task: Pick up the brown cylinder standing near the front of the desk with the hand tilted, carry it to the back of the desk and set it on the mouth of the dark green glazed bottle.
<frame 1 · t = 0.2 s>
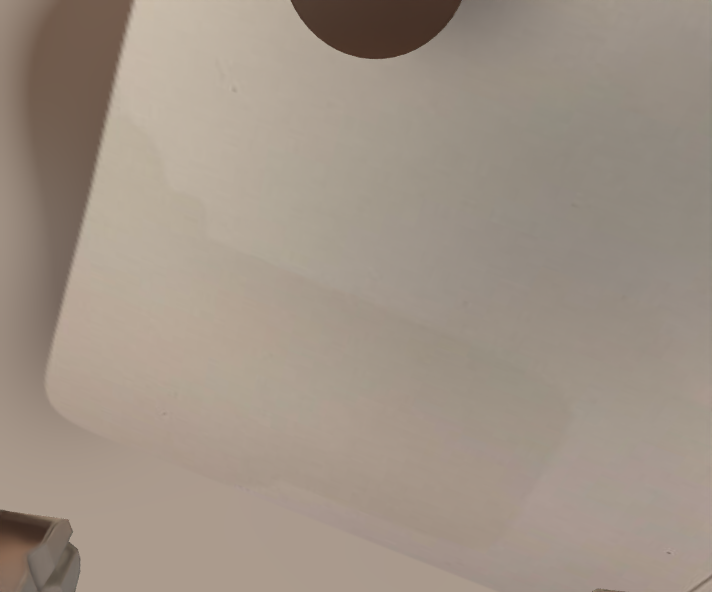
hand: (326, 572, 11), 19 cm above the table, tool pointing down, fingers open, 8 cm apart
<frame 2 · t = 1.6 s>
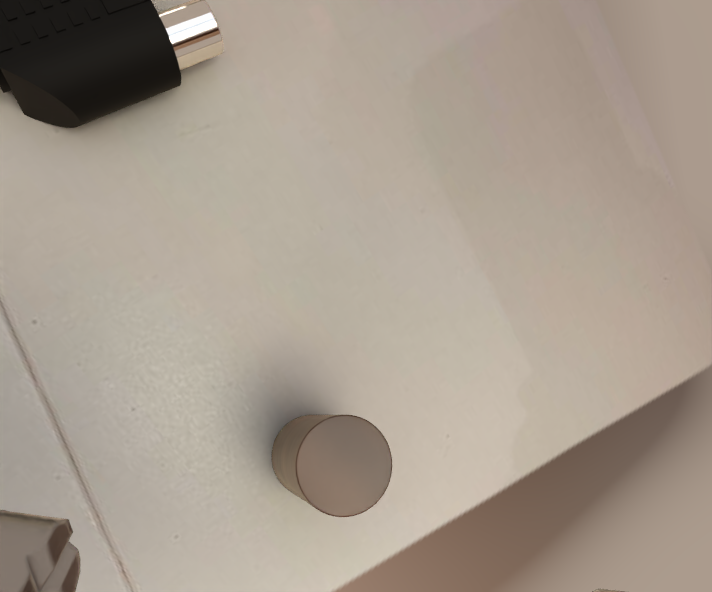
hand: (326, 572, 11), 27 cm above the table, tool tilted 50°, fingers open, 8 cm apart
brown cylinder: (311, 455, 38), on the table
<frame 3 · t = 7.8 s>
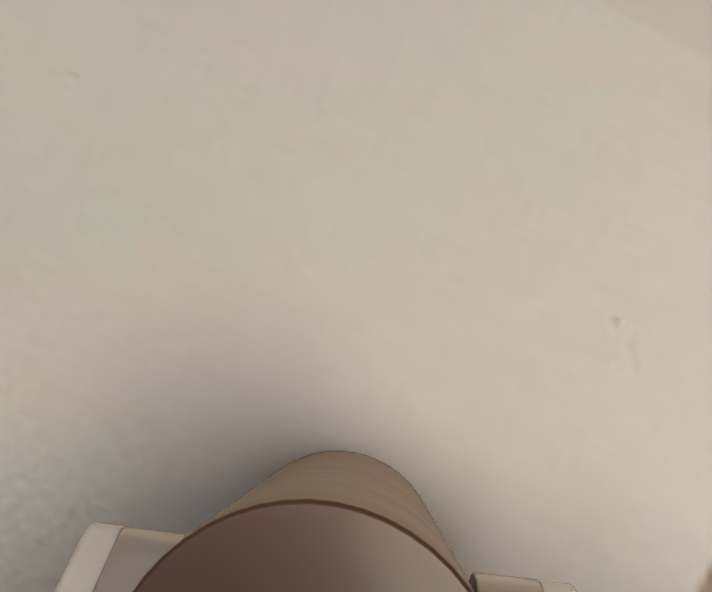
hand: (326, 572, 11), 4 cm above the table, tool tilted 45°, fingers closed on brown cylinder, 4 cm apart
brown cylinder: (337, 554, 15), on the table, touching gripper
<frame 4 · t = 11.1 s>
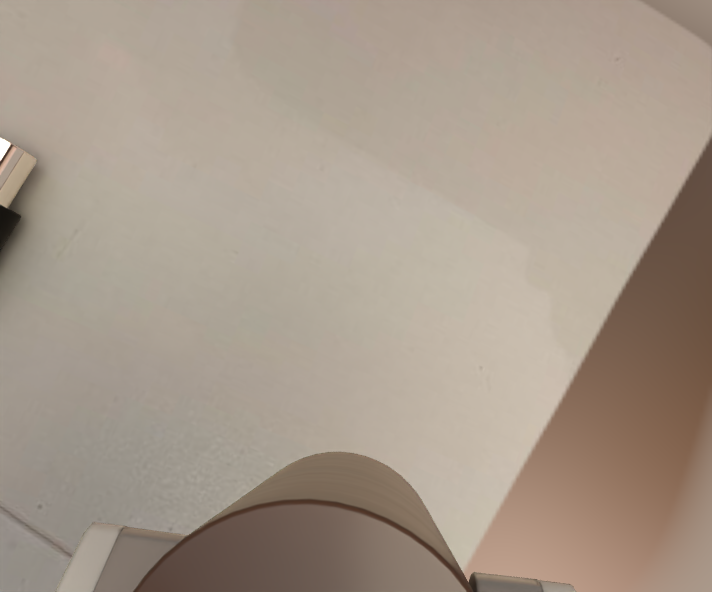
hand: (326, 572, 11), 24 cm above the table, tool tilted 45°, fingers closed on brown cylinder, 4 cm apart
brown cylinder: (336, 554, 15), point 20 cm above the table, touching gripper
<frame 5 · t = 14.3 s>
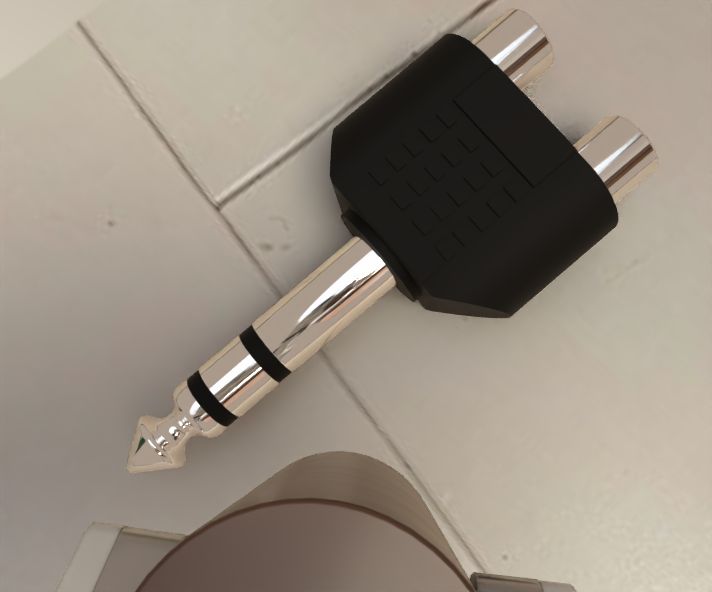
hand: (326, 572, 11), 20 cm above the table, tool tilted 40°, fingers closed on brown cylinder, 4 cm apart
brown cylinder: (338, 554, 15), point 16 cm above the table, touching gripper
audio adapter: (359, 285, 32), on the table
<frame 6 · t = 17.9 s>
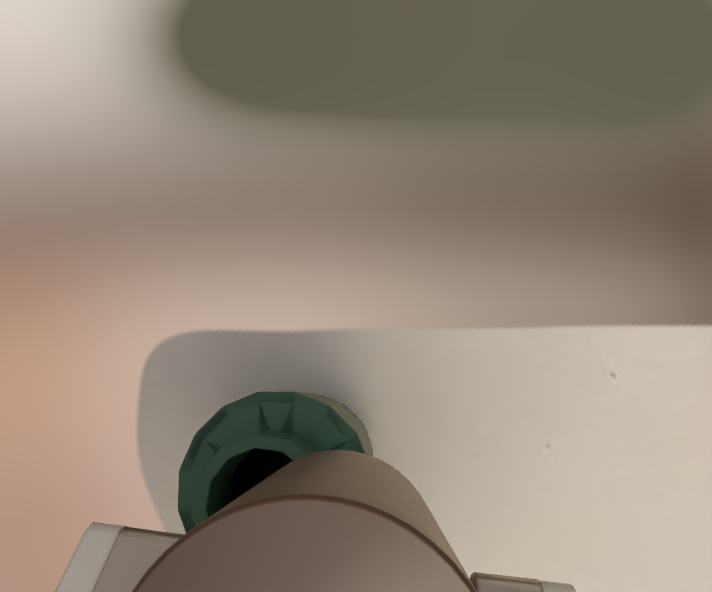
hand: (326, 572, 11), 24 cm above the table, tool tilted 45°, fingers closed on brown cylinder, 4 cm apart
bottle: (308, 459, 34), on the table
brown cylinder: (337, 552, 15), point 19 cm above the table, touching gripper
when the fingers open (19 cm above the table, at t = 20.7 s): brown cylinder stays where it is, resting on bottle.
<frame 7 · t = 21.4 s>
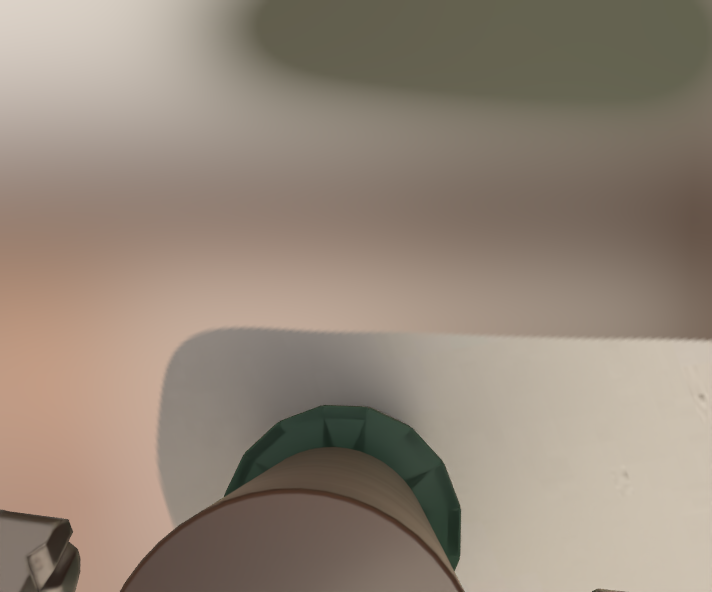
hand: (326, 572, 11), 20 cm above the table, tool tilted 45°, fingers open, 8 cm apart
bottle: (352, 479, 30), on the table
brown cylinder: (331, 547, 15), point 15 cm above the table, touching bottle
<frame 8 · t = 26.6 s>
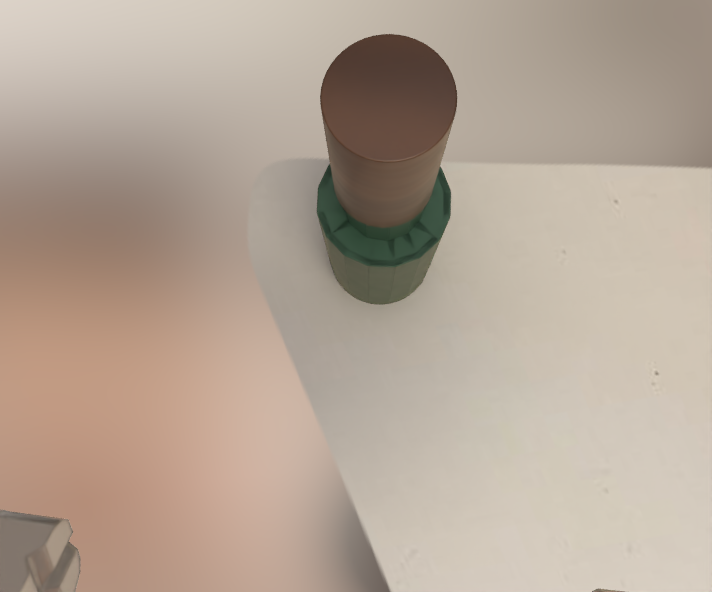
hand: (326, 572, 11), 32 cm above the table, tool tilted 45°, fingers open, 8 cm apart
bottle: (380, 256, 45), on the table
brown cylinder: (383, 179, 30), point 15 cm above the table, touching bottle
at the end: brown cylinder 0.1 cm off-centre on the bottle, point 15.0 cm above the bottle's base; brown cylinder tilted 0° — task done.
